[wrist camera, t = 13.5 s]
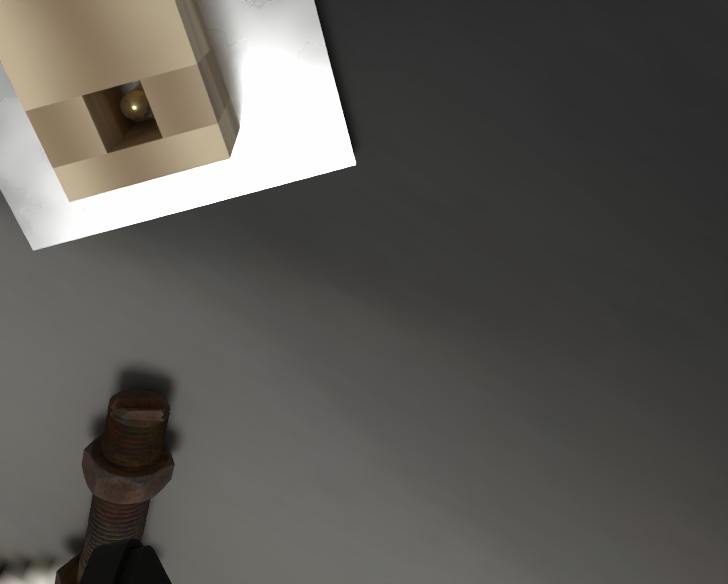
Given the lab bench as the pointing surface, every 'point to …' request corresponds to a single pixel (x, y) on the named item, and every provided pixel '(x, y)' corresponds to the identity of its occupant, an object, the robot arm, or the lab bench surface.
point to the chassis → (253, 112)
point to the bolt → (123, 473)
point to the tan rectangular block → (117, 88)
